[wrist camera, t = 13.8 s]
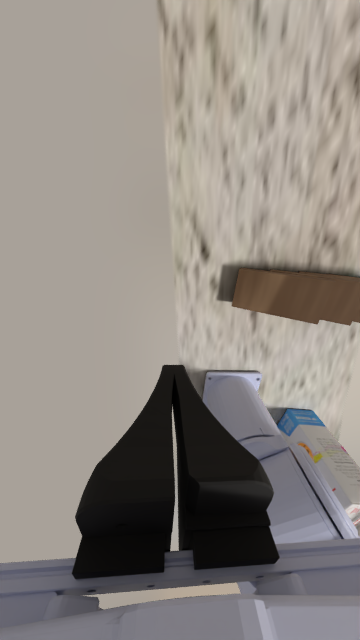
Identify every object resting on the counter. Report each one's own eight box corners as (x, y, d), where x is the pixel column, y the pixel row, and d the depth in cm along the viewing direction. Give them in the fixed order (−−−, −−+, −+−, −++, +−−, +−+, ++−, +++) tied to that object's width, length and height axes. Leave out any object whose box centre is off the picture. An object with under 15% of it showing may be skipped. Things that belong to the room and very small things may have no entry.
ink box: (285, 407, 29) (385, 551, 16) (313, 409, 30) (431, 550, 16) (266, 440, 32) (334, 581, 19) (291, 441, 33) (374, 580, 20)
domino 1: (241, 267, 19) (330, 278, 16) (234, 302, 21) (314, 318, 18) (239, 269, 18) (335, 281, 15) (231, 306, 20) (317, 324, 17)
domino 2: (270, 269, 20) (364, 280, 17) (261, 303, 21) (344, 319, 18) (270, 270, 18) (371, 283, 15) (260, 307, 20) (350, 325, 17)
